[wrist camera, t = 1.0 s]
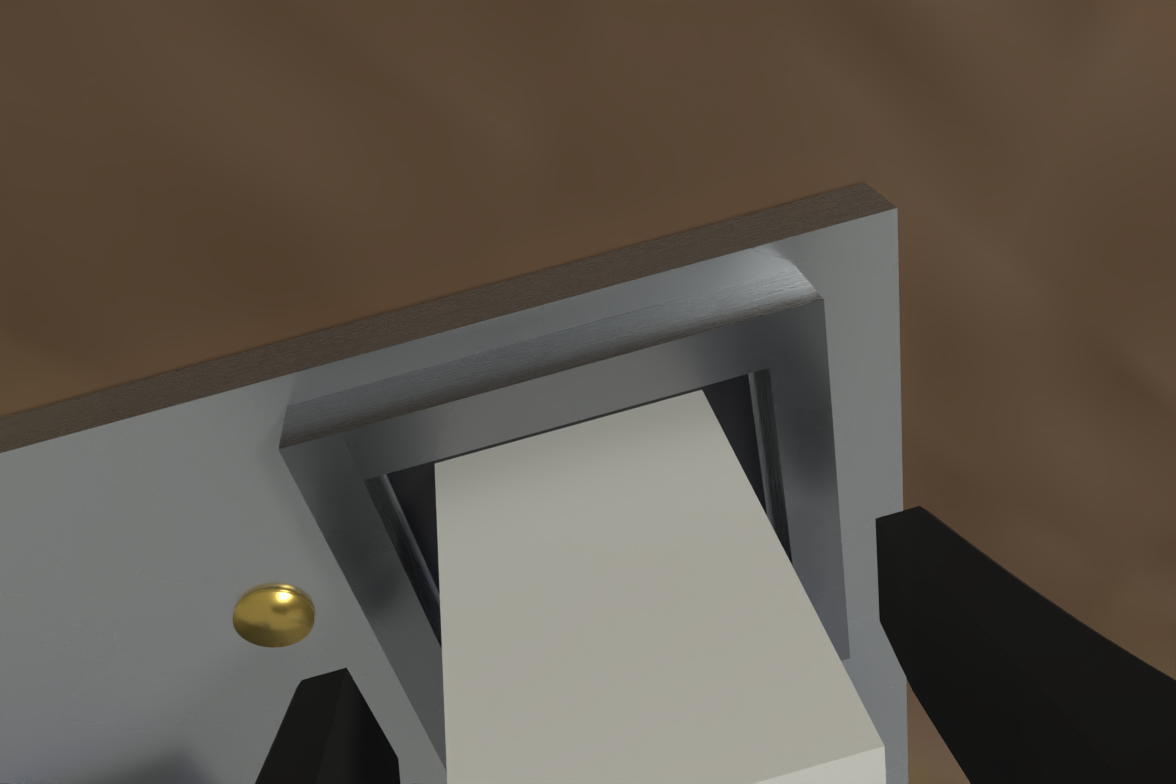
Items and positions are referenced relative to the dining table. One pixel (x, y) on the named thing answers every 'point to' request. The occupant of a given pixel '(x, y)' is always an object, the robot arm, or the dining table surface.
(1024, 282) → the dining table surface
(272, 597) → the switch plate
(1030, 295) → the dining table surface
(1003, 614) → the robot arm
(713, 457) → the plug
